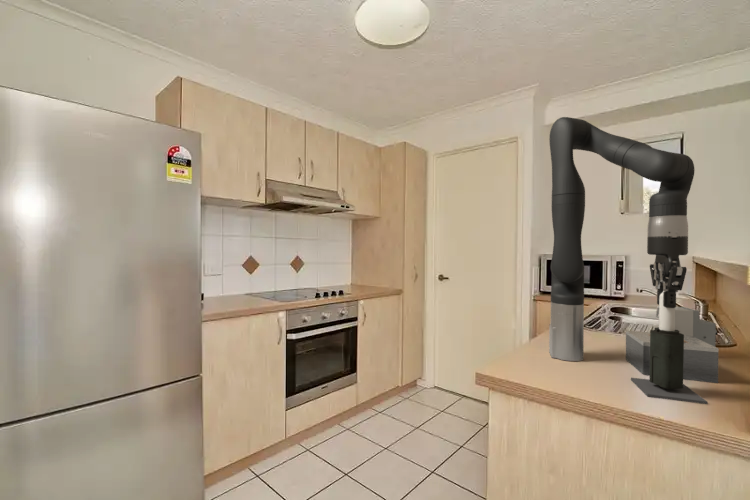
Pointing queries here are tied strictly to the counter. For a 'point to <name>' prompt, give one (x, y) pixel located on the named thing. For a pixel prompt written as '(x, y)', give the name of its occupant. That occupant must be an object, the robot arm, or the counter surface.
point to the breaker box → (696, 356)
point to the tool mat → (667, 392)
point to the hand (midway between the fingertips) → (666, 306)
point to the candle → (666, 351)
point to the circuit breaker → (693, 325)
